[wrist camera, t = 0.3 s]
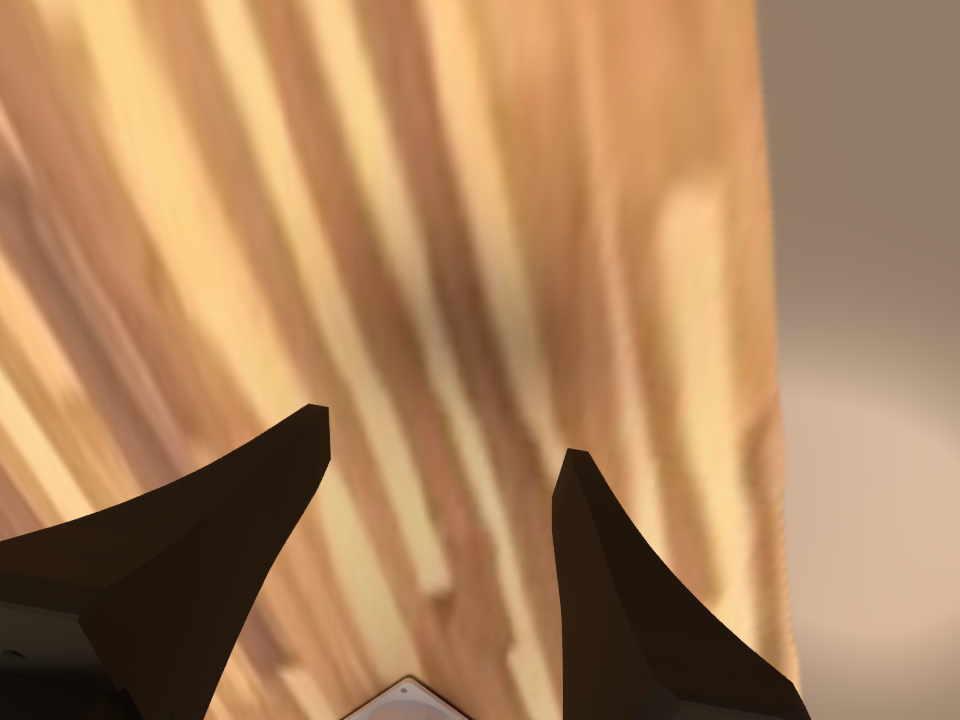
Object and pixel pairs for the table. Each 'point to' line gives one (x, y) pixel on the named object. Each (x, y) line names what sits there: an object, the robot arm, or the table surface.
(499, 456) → the table surface
